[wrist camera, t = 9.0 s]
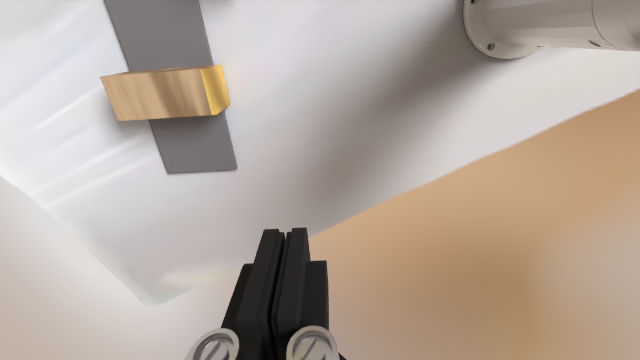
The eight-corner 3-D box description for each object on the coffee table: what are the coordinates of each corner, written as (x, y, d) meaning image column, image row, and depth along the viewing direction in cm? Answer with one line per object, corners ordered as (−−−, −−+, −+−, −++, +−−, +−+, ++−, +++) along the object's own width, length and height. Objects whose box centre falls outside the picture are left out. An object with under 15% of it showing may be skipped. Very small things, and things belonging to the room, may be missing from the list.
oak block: (205, 68, 30) (99, 77, 31) (216, 114, 32) (118, 121, 33) (220, 64, 34) (128, 71, 35) (229, 105, 37) (142, 110, 37)
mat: (191, -28, 31) (189, -29, 30) (237, 167, 42) (236, 169, 41) (101, -19, 31) (97, -20, 31) (170, 171, 42) (168, 173, 42)
